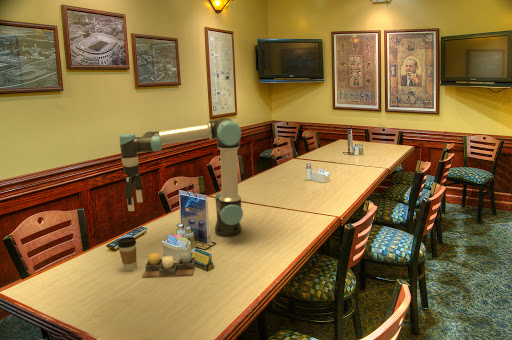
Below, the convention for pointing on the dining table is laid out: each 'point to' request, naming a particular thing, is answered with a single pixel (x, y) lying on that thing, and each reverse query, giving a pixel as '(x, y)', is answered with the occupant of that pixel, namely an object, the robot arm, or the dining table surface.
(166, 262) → the beige round cylinder
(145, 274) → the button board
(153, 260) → the mustard button
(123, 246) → the coffee cup
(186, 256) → the slate button
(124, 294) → the dining table surface
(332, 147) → the dining table surface
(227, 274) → the dining table surface
